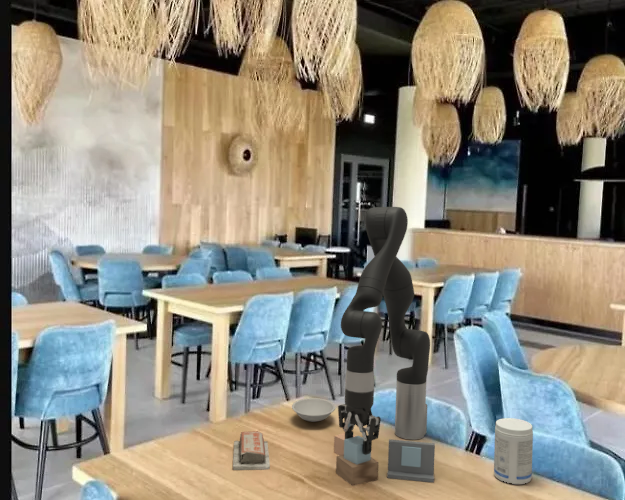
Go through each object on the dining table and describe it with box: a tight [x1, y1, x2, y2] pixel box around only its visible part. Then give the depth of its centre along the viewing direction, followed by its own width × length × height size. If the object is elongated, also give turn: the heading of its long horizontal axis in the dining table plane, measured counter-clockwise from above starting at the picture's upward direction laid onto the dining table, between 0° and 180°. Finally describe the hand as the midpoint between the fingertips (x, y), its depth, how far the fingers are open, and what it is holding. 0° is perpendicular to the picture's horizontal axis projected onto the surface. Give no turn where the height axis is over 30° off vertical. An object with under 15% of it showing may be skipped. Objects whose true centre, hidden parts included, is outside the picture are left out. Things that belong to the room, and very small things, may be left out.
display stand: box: [386, 438, 436, 483], centre depth 160 cm, size 6×12×9 cm, turn 80°
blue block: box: [344, 435, 372, 465], centre depth 158 cm, size 5×5×5 cm
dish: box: [291, 397, 336, 423], centre depth 199 cm, size 18×14×5 cm
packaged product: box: [232, 430, 271, 471], centre depth 170 cm, size 18×5×10 cm
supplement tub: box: [493, 417, 534, 485], centre depth 160 cm, size 10×10×15 cm
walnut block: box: [335, 455, 380, 487], centre depth 159 cm, size 8×8×5 cm
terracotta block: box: [333, 432, 356, 456], centre depth 174 cm, size 5×5×5 cm
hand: (357, 449), depth 158 cm, fingers open, 6 cm apart
